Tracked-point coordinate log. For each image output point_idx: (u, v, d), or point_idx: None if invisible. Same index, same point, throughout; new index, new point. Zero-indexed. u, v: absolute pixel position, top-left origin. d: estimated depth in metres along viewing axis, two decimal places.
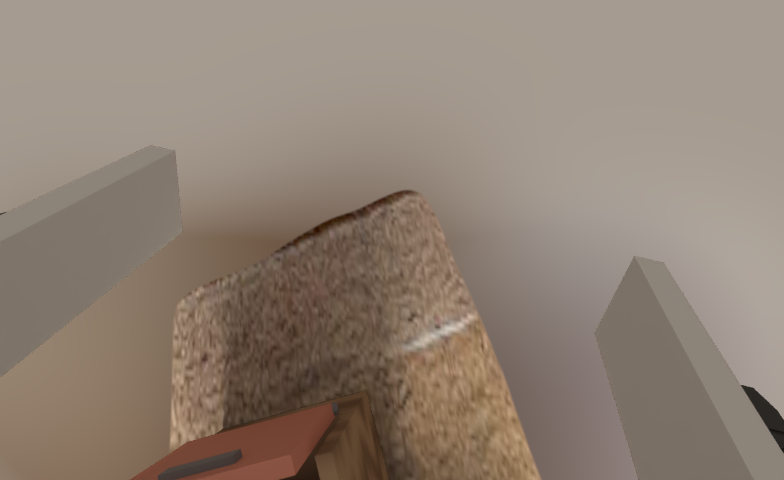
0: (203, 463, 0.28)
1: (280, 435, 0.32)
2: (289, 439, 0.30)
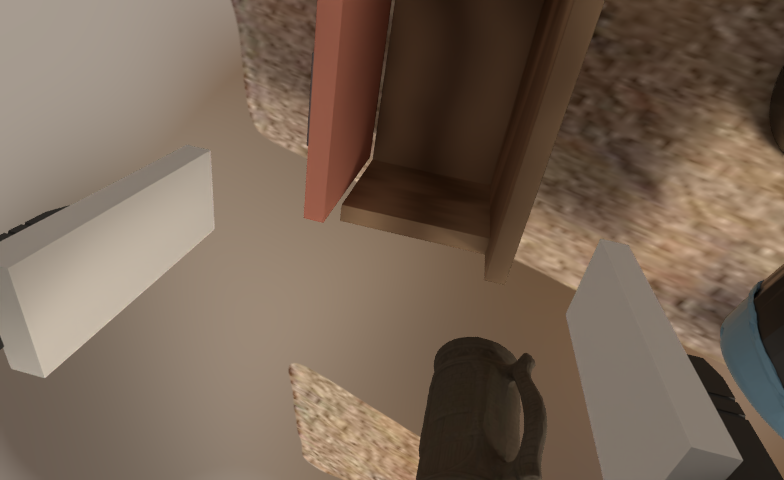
0: (310, 91, 0.24)
1: None
2: None
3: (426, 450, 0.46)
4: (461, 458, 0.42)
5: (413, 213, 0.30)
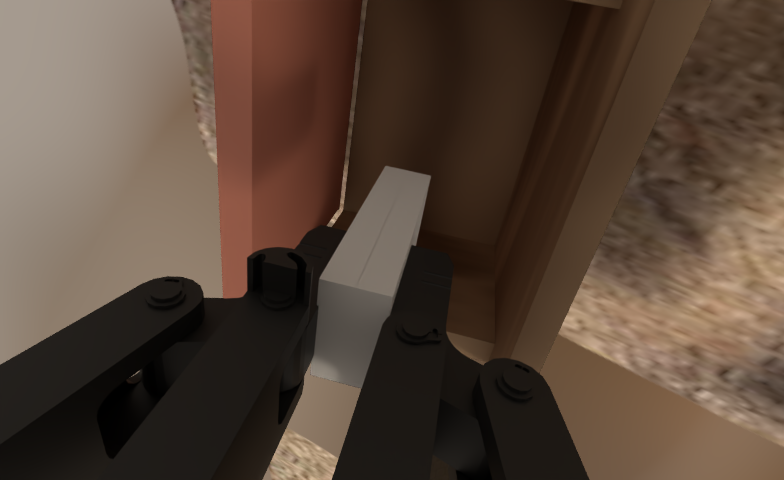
0: None
1: None
2: None
3: None
4: None
5: None
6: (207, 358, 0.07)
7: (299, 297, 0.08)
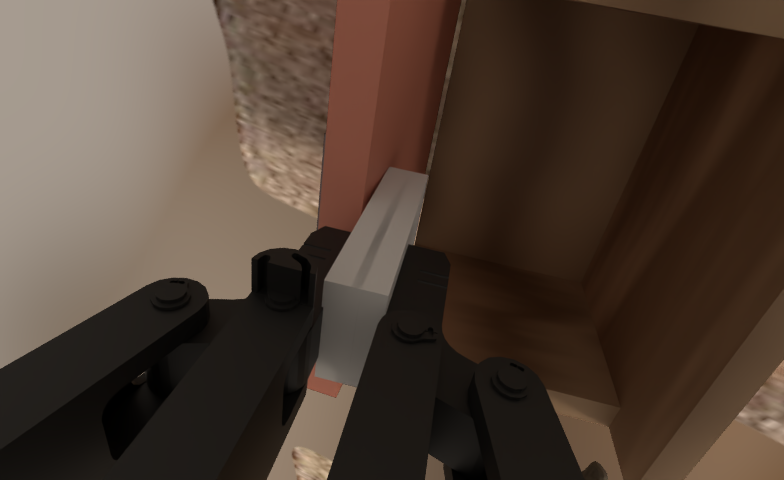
0: (319, 196, 0.14)
1: None
2: None
3: None
4: None
5: None
6: (211, 359, 0.07)
7: (303, 298, 0.08)
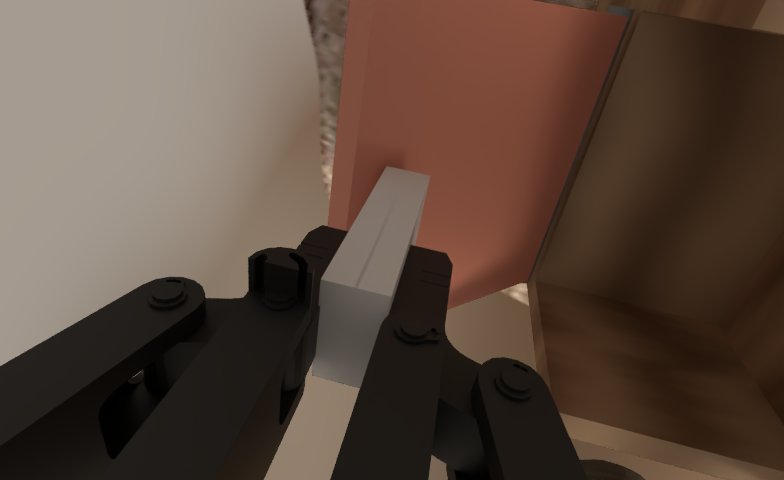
0: None
1: None
2: None
3: None
4: None
5: (668, 420, 0.18)
6: (209, 358, 0.07)
7: (301, 297, 0.08)
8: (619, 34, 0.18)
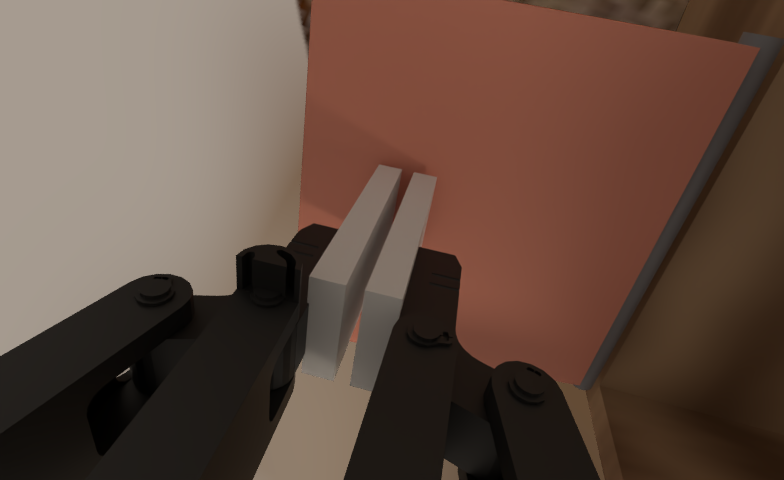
0: None
1: None
2: None
3: None
4: None
5: None
6: (197, 356, 0.07)
7: (289, 294, 0.08)
8: (741, 72, 0.12)
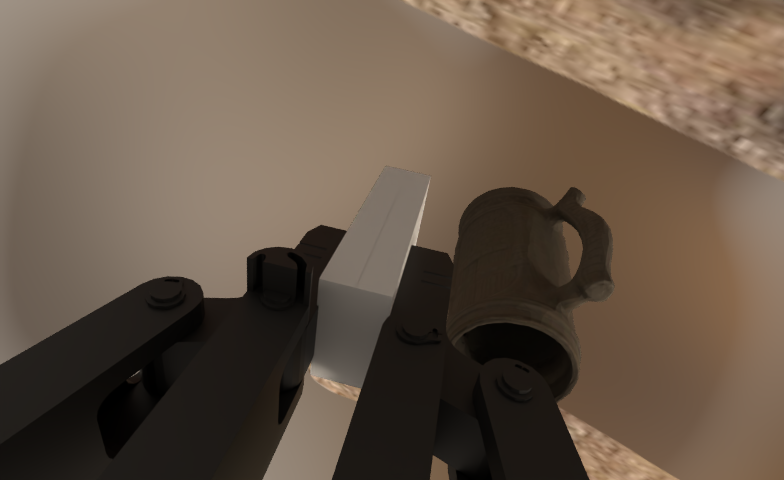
0: None
1: None
2: None
3: (457, 296, 0.37)
4: (504, 286, 0.33)
5: None
6: (207, 358, 0.07)
7: (299, 297, 0.08)
8: None
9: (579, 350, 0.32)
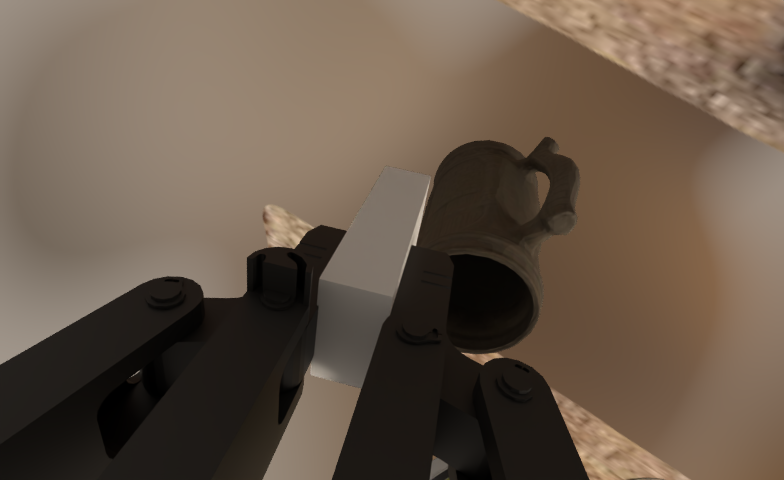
0: None
1: None
2: None
3: (423, 238, 0.37)
4: (469, 223, 0.33)
5: None
6: (207, 358, 0.07)
7: (299, 297, 0.08)
8: None
9: (541, 288, 0.31)
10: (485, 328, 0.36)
